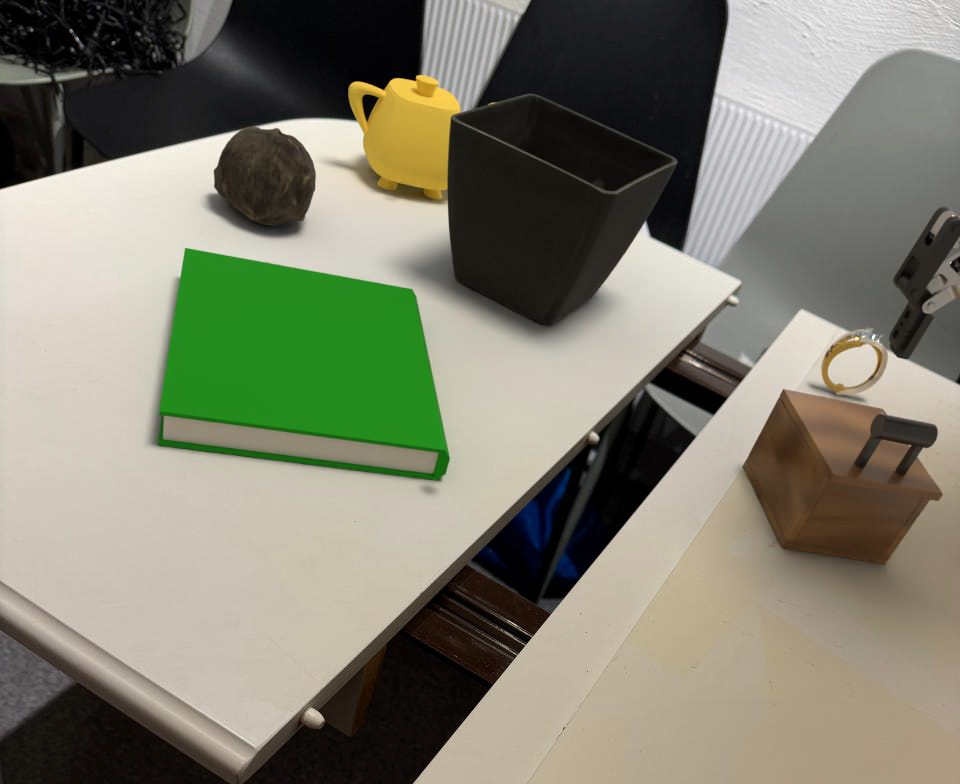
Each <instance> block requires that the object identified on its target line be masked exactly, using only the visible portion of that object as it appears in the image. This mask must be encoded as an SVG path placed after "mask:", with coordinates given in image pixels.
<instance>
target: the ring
mask: <svg viewBox="0 0 960 784" xmlns="http://www.w3.org/2000/svg"><path fill="white" fill-rule="evenodd" d="M874 330H875V328H873V327H871V328H870V327H868V326H867V327H864V329H858V328H856V329H855V330H852V331H848V332H846V333H845V334H843V335H841V336H840V337H838V339H836V340H835V341H834V342H833V343H832V344H831V346H830V347H828V349H827V350H826V351H825V353H824V356H823V357H822V361H821V366H820V368H821V369H820V370H821V377H822V381H823V382H824V385H825V386H826V387H827V388H828V389H829V390H830V391H833V392H834V394H835V395H836V396H842V395H847V396H848V395H850V396H851V395H857V394H860V393H863V392H866V391H867V390H869V389H870V388H871V387H873V386H874V385H875V384H877V382H879V380H880V379H881V378H882V377H883V375H884V373H885V370H886V368H887V365H888V359H889V354H888V350H887V349H886V347H885V346H884V345H883V344H882V343H881V340H882V339H883V338H884V336H885V335H884V334H882V333H881V334H880V335H879V334H878V333H875V334H874V333H873V331H874ZM863 346H871V347H872V349H874V351H875V354H876V365H875V368H874V370H873V372H872V374H871V375H870V376H869V377H868V378H867V379H865V381H862V382H861V383H859V384H857V385H854V386H845V385H844V384H843V383H835V382H833V381H832V380H831V378H830V377H829V368H830V364H831V363H832V361H833V360H834V359H835V358H836V357H837V356H838V355H840V354H842V353H843V352H845V351H848V350H851V349H854V348H860V347H863Z"/></svg>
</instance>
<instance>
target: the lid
mask: <svg viewBox="0 0 960 784" xmlns="http://www.w3.org/2000/svg"><path fill="white" fill-rule="evenodd" d="M779 397H780V398H781V400H782V401H783V403H784V405H785V406H786V408H787V410H788V412H789V413H790V415H791V417H792V419H793V420H794V422H795V424H796V425H797V427H798V429H799V431H800V432H801V434H802V436H803V438H804V439H805V441H806V443H807V444H808V446H809V448H810V450H811V451H812V453H813V455H814V457H815V458H816V460H817V462H818V463H819V465H820V467H821V469H822V470H823V472H824V474H825V476H826V477H827V479H828V481H829V482H833V483H839V484H844V485H850V486H855V487H861V488H867V489H872V490H878V491H884V492H889V493H895V494H901V495H906V496H912V497H917V498H923V499H929V500H930V501H935V502H939V501H940V500H941V499H942V497H943V495H944V492H943V491H942V490H941V489H940V487H939V486H938V484H937V482H936V481H935V480H934V478H933V477H932V476H931V474H930V473H929V471H928V470H927V469H926V467H925V466H924V464H923V463H922V461H921V460H920V459H919V458H918V456H919V455H920V454H921V452H922V450H923V449H929V448H931V447H933V445H934V444H935V443H936V441H937V438H938V436H939V435H938V434H939V430H938V427H937V425H936V424H934V423H931V422H925V421H920V420H915V419H911V418H905V417H902V416H901V417H900V416H896V415H895V416H894V415H890V414H888V413H886V411H885V410H884V408H882V407H881V408H880V407H877V406H872V405H866V404H861V403H856V402H851V401H846V400H841V399H836V398H831V397H825V396H821V395H816V394H811V393H807V392H800V391H796V390H791V389H785V388H783V389H782V391H781V392H780V395H779Z"/></svg>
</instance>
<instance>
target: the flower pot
mask: <svg viewBox="0 0 960 784" xmlns="http://www.w3.org/2000/svg"><path fill="white" fill-rule="evenodd" d="M492 103H493V104H491V103H488V104H485V105H483V106H479V107H476V108H472V109H469V110H468V109H467V110H464V111H461V113H457V114H454V115H452V116H451V121H450V132H449V149H448V177H447V190H446V191H447V195H446V196H447V217H448V218H447V219H448V232H449V233H448V234H449V244H450V252H451V262H452V268H453V275H454V278H455V279H456V280H457V282H460V283H461V284H464V285H466V286H467V287H469V288H471V289H473V290H475V291H477V292H479V293H481V294H483V295H484V296H486V297H488V298H490V299H492V300H494V301H496V302H498V303H500V304H502V305H504V306H505V307H507V308H510V309H511V310H514V311H515V312H517V313H519V314H521V315H523V316H524V317H527V318H529V319H531V320H533V321H535V322H537V323H539V324H541V325H545V326H551V325H553V324H555V323H557V322H558V321H559V320H561V319H562V318H564V317H565V316H567V315H568V314H570V313H572V312H573V311H575V310H576V309H577V308H579V307H580V306H582V305H583V304H585V303H586V302H589V301H590V300H591V299H593V297H594V296H595V295H596V294H597V293H598V291H599V290H600V289H601V287H602V286H603V285H604V284H605V282H606V281H607V279H608V278H609V277H610V275H611V274H612V272H613V271H614V270H615V268H616V267H617V266H618V264H619V263H620V261H621V260H622V258H623V257H624V256H625V254H626V253H627V251H628V250H629V248H630V247H631V245H632V243H634V240H635V239H636V237H637V236H638V234H639V232H640V231H641V229H642V228H643V226H644V224H645V223H646V221H647V220H648V218H649V216H650V214H651V212H652V211H653V209H654V208H655V206H656V204H657V202H658V200H659V199H660V197H661V195H662V193H663V191H664V190H665V187H666V186H667V184H668V182H669V180H670V178H671V177H672V175H673V173H674V171H675V168H676V167H677V164H678V160H677V158H675V157H674V156H673V155H670V154H668V153H665V152H663V151H662V150H660V149H657V148H655V147H653V146H651V145H648V144H646V143H644V142H642V141H640V140H638V139H635V138H633V137H632V136H629V135H627V134H625V133H623V132H621V131H618V130H616V129H614V128H611V127H610V126H607V125H605V124H603V123H601V122H598V121H596V120H594V119H592V118H590V117H587V116H585V115H583V114H581V113H578V112H577V111H574V110H572V109H570V108H567V107H566V106H563V105H561V104H558V103H557V102H554V101H552V100H550V99H548V98H545V97H543V96H542V95H541V96H540V95H538V94H534V93H527V94H522V95H518V96H514V97H511V98H508V99H504V100H501V101H497V103H495V102H492Z"/></svg>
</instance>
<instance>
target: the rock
mask: <svg viewBox="0 0 960 784" xmlns="http://www.w3.org/2000/svg"><path fill="white" fill-rule="evenodd" d="M315 168H316V167H315V164H314V160H313V159H312V157H311V154H310V153H309V151H308V150H307V149H306V147H305V146H304V145H303V143H302V142H301V141H299V139H298V138H296V137H295V136H293V135H291V134H286V133H283V132H282V131H281V129H280V128H278V127H274V128H271V129H265V128H260V127H258V126H248V127H244V128H242V129H240V130H239V131H238V132H236V133H235V134H234V135H233V136H232V137H231V138H230V139H229V140H228V141H227V142H226V144H225V146H224V148H223V149H222V151H221V153H220V156H219V159H218V162H217V166H216V167H214V169H213V182H214V183H213V188H214V189H215V190H216V192H217V193H218V194H219V195H220V196H221V197H222V198H223V199H224V200H226V202H227V203H228V205H230V206H231V207H232V208H233V209H234V210H236V211H238V212H240V213H241V214H242V215H243V216H245V217H247V218H248V219H249V220H251V221H253V222H255V223H257V224H260V225H263V226H271V227H272V226H273V227H279V226H282V225H283V224H286V223H293V222H303V221H304V220H305V219H306V214H307V213H308V211H309V209H310V207H311V204H312V200H313V197H314V193H315V191H316V179H317V173H316V169H315Z"/></svg>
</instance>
